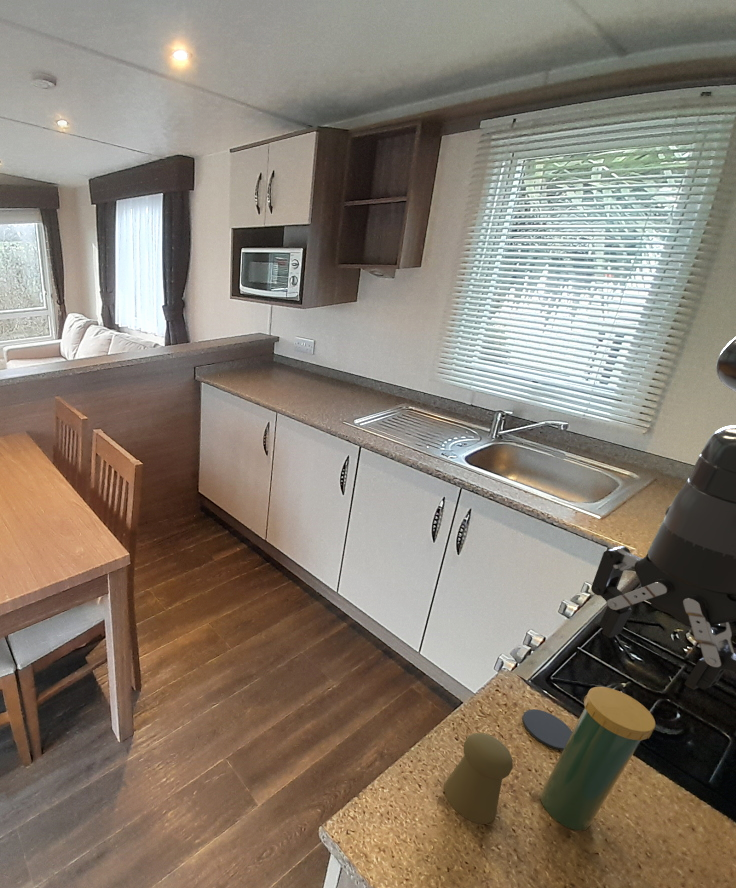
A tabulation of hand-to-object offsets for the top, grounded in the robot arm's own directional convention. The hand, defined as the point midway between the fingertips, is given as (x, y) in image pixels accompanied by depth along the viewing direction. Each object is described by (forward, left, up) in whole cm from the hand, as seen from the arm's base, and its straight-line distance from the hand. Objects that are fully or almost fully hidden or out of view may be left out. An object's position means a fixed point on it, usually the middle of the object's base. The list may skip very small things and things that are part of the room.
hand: (649, 657), depth 53 cm
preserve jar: (0, 0, -28) cm, 28 cm away
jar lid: (0, 0, -9) cm, 9 cm away
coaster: (-4, -12, -28) cm, 31 cm away
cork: (+12, +1, -28) cm, 31 cm away
